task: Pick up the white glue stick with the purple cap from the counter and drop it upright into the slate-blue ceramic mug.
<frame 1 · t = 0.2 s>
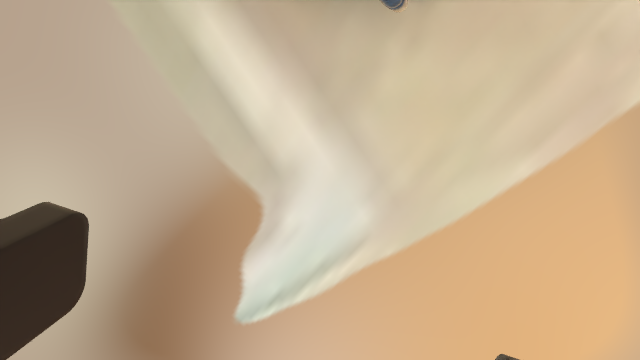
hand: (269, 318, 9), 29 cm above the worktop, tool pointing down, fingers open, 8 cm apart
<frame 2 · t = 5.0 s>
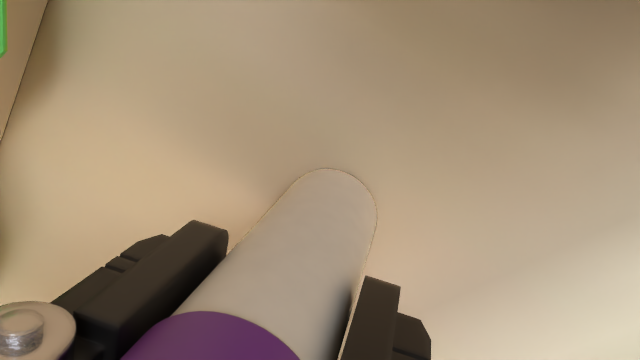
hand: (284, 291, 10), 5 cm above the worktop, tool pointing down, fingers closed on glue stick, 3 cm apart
glue stick: (330, 213, 14), on the worktop, touching gripper
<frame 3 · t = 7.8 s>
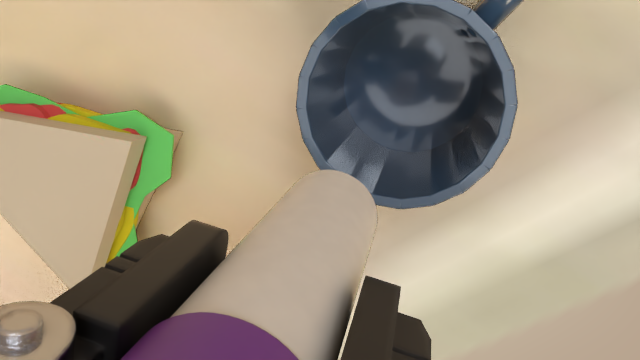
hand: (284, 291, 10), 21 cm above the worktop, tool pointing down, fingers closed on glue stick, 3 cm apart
sandwich: (75, 143, 35), on the worktop
glue stick: (330, 214, 14), point 17 cm above the worktop, touching gripper
mug: (411, 84, 28), on the worktop
when the fingers open (12 cm above the worktop, at t = 10.7 s): glue stick drops 7 cm, resting on mug.
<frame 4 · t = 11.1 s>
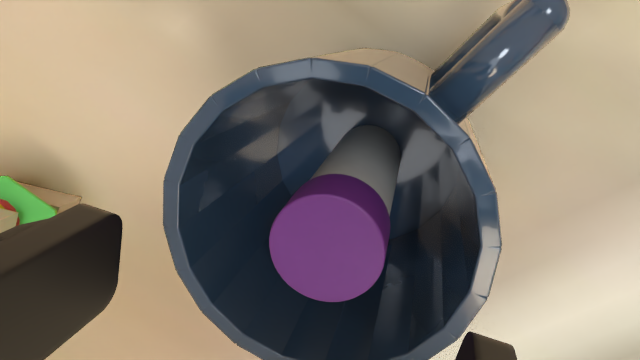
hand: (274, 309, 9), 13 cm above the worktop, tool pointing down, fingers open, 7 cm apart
glue stick: (368, 156, 21), point 1 cm above the worktop, touching mug
mug: (367, 152, 21), on the worktop
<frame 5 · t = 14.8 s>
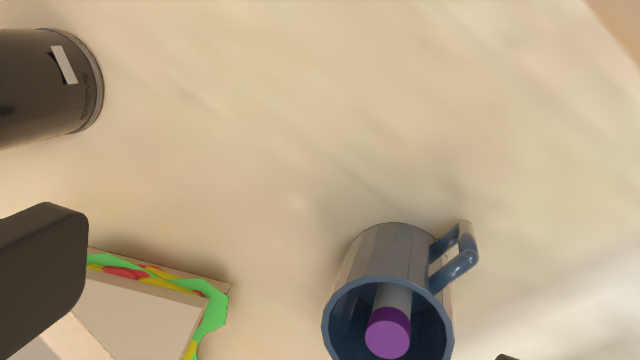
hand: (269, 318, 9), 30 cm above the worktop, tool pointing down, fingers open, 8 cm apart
sandwich: (149, 283, 48), on the worktop
glue stick: (397, 274, 40), point 1 cm above the worktop, touching mug
mug: (396, 270, 41), on the worktop
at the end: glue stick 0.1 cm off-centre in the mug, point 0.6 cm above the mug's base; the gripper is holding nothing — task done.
